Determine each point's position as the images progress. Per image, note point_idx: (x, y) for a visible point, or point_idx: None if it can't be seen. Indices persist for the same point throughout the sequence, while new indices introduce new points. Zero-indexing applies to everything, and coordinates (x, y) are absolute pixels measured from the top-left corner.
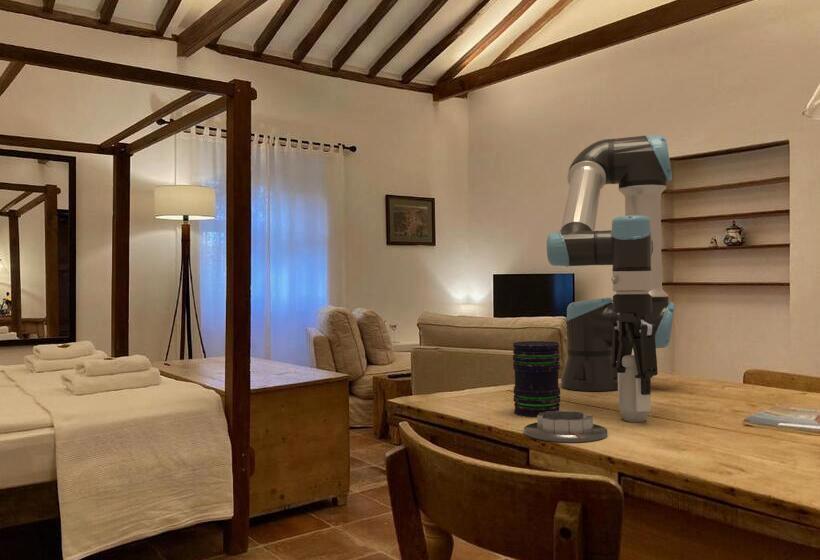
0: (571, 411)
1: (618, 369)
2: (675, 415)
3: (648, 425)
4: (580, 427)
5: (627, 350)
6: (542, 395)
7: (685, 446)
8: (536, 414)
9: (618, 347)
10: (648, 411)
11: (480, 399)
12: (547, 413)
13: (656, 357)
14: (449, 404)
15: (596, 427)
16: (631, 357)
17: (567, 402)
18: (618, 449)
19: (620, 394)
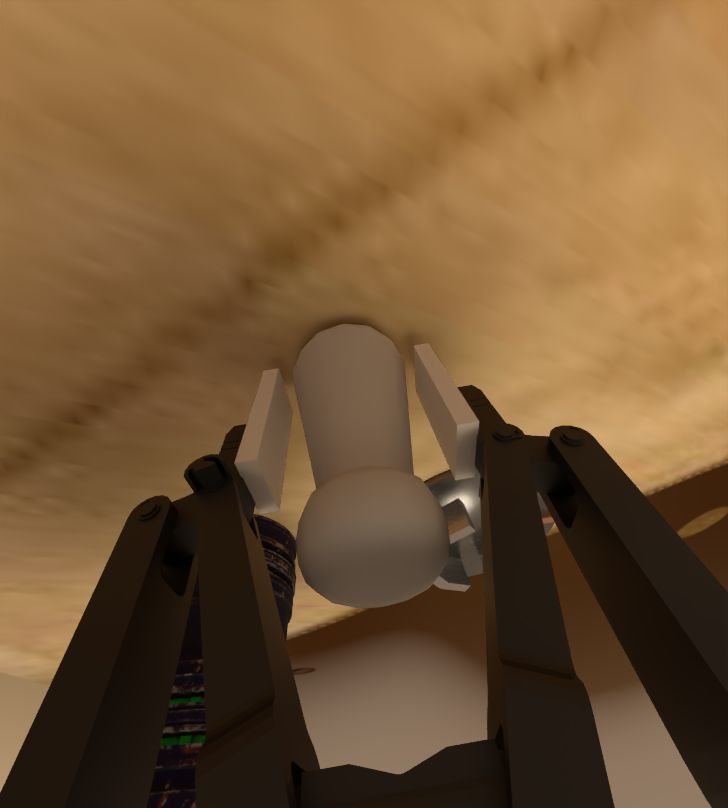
0: None
1: (256, 526)
2: (245, 136)
3: (435, 340)
4: None
5: (271, 629)
6: (291, 598)
7: (700, 335)
8: (295, 558)
9: (156, 678)
10: (379, 332)
11: (59, 624)
12: (443, 577)
13: (660, 515)
14: None
15: (477, 484)
16: (430, 585)
17: (18, 478)
18: (628, 468)
19: (288, 434)
